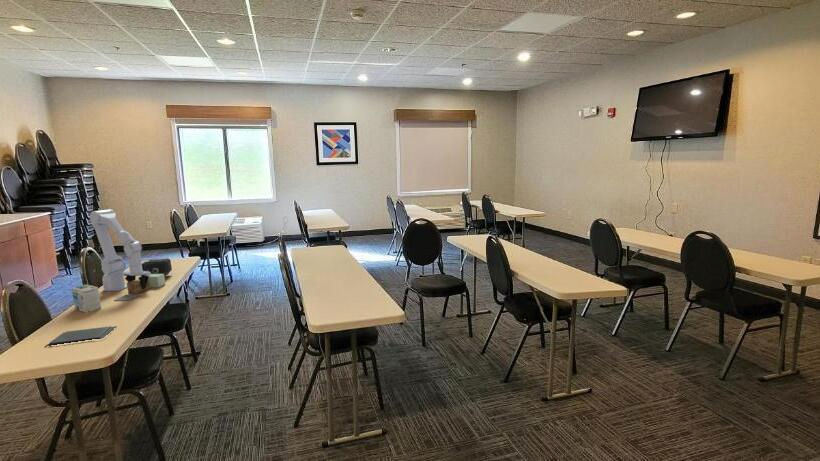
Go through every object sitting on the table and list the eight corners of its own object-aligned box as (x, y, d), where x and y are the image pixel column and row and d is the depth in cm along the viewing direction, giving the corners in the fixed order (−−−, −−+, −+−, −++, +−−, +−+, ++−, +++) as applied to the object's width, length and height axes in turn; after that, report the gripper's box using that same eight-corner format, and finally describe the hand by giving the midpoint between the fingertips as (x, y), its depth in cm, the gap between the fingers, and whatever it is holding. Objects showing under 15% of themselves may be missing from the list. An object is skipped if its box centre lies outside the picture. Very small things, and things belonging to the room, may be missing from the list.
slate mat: (114, 300, 208) (114, 300, 208) (126, 295, 216) (126, 294, 216) (128, 300, 207) (128, 300, 207) (140, 295, 215) (140, 294, 215)
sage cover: (159, 287, 229) (157, 276, 228) (143, 287, 230) (142, 276, 229) (165, 284, 234) (164, 273, 233) (150, 284, 235) (149, 273, 234)
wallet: (41, 345, 156) (63, 329, 170) (42, 349, 156) (64, 333, 171) (101, 338, 161) (118, 323, 175) (102, 342, 161) (119, 327, 176)
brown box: (128, 293, 218) (126, 283, 217) (140, 288, 227) (139, 278, 226) (137, 293, 218) (136, 283, 217) (149, 288, 226) (148, 278, 225)
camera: (173, 275, 255) (145, 275, 251) (172, 257, 254) (145, 257, 249) (168, 280, 245) (139, 280, 241) (168, 261, 244) (139, 261, 239)
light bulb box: (74, 309, 197) (70, 288, 195) (90, 304, 203) (86, 284, 201) (86, 313, 192) (82, 291, 190) (102, 308, 198) (98, 286, 196)
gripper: (116, 266, 216) (120, 290, 219) (142, 266, 215) (146, 291, 218) (127, 262, 223) (130, 286, 226) (152, 262, 222) (155, 286, 224)
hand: (138, 288), depth 222 cm, fingers closed on brown box, 5 cm apart
